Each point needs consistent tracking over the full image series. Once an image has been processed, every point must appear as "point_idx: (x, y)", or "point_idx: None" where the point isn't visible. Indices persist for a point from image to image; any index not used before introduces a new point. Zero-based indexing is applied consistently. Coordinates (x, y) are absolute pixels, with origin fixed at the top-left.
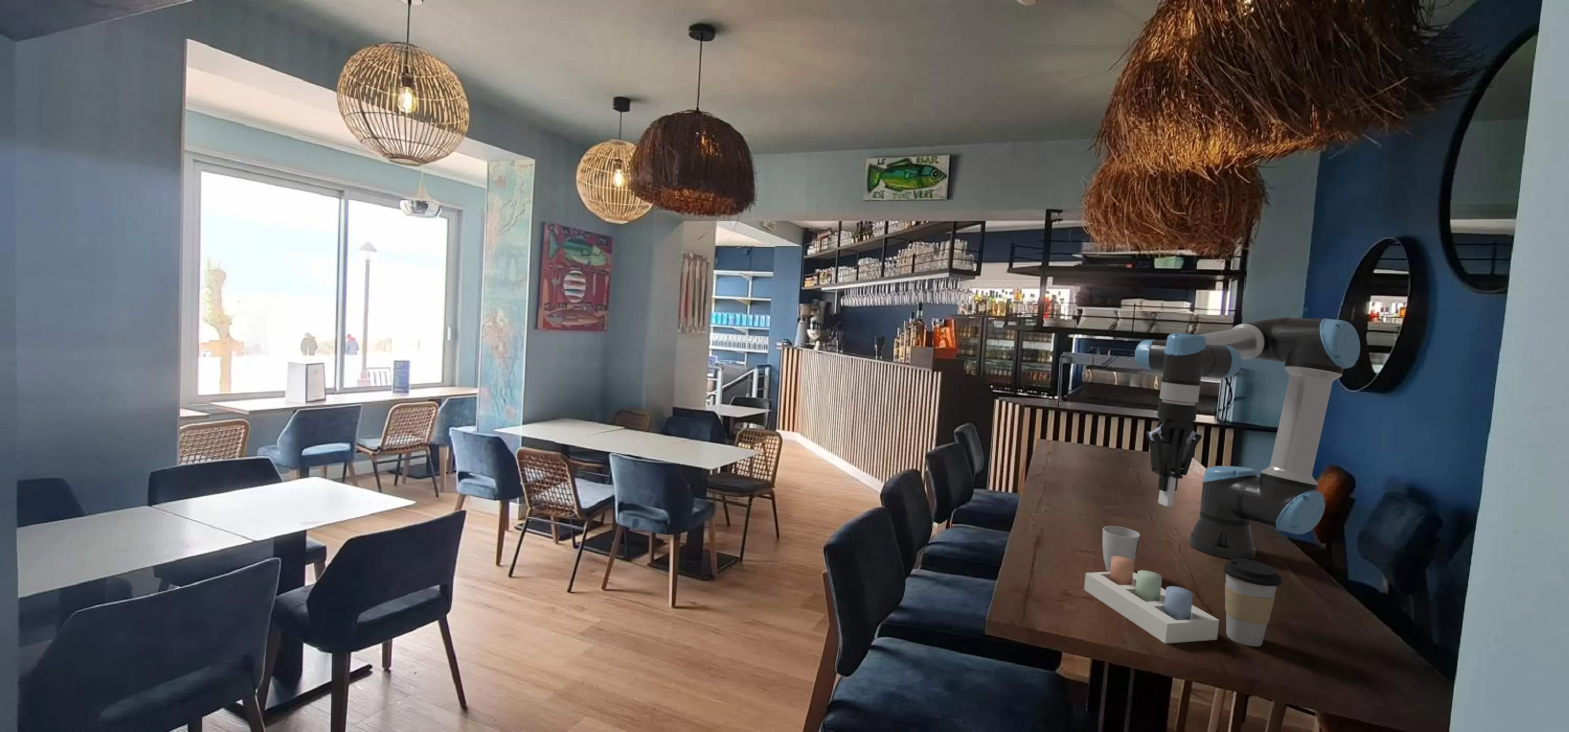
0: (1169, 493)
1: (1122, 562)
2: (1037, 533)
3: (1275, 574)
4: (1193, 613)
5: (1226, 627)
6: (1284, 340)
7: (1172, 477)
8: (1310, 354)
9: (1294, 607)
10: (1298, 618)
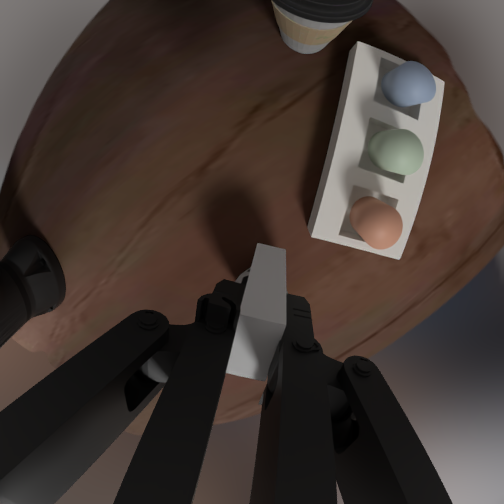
0: (282, 273)
1: (395, 219)
2: (251, 403)
3: None
4: (378, 71)
5: (321, 48)
6: None
7: (243, 335)
8: None
9: (107, 88)
10: (140, 57)
